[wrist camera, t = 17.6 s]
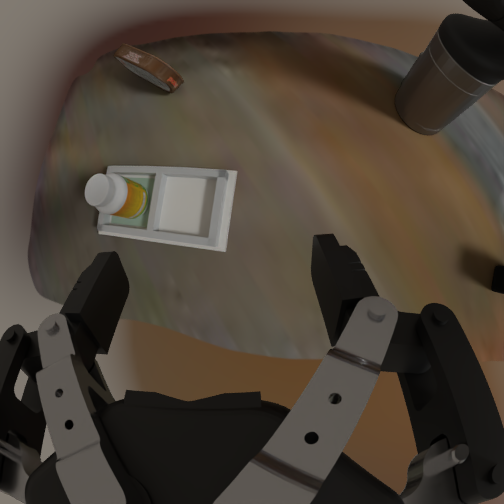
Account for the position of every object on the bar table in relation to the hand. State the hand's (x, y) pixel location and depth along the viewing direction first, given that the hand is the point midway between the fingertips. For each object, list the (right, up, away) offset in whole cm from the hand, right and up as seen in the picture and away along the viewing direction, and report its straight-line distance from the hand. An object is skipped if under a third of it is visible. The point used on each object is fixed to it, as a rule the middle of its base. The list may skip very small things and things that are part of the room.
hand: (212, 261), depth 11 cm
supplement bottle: (-16, +8, +28) cm, 33 cm away
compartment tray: (-12, +7, +28) cm, 31 cm away
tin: (-15, +30, +28) cm, 44 cm away
